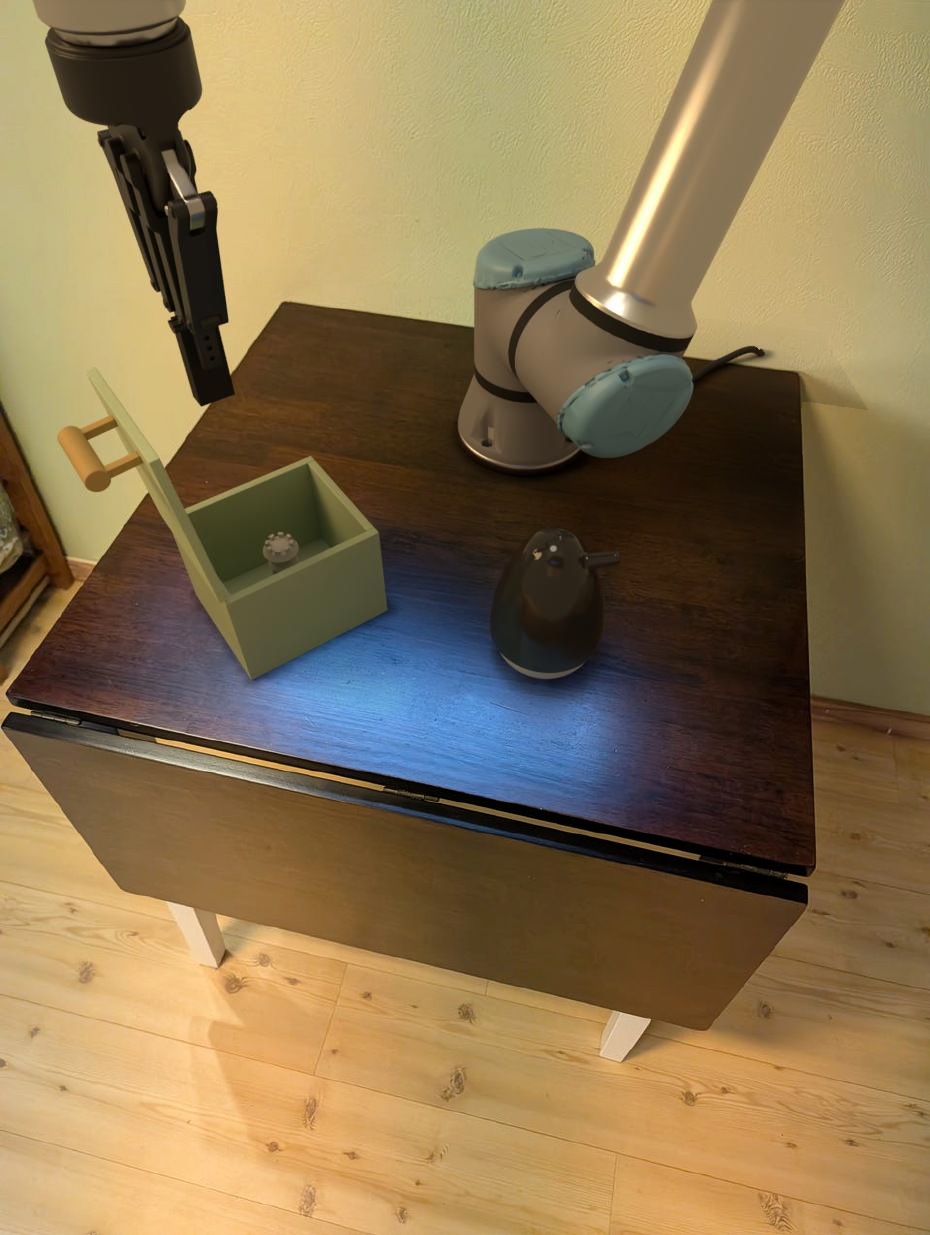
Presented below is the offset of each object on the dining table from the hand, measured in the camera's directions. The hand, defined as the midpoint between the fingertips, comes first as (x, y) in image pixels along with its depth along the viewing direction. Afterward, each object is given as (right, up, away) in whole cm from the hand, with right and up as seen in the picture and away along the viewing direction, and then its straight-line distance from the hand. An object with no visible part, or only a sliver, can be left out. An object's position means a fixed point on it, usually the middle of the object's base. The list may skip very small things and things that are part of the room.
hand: (214, 395), depth 63 cm
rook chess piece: (+2, -15, +20) cm, 25 cm away
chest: (+2, -15, +20) cm, 25 cm away
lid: (-5, -6, +3) cm, 8 cm away
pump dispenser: (+26, -20, +17) cm, 37 cm away
